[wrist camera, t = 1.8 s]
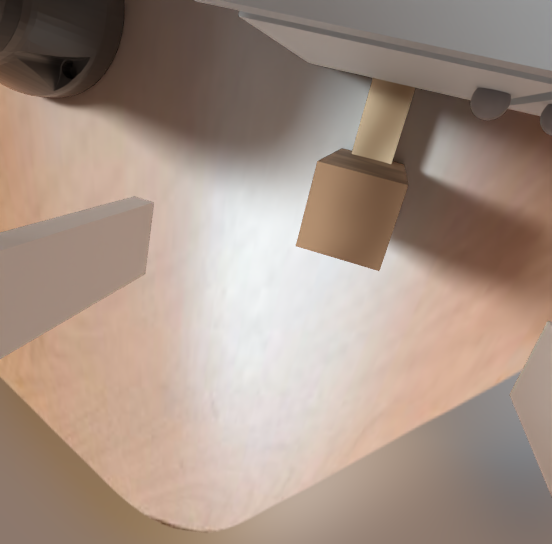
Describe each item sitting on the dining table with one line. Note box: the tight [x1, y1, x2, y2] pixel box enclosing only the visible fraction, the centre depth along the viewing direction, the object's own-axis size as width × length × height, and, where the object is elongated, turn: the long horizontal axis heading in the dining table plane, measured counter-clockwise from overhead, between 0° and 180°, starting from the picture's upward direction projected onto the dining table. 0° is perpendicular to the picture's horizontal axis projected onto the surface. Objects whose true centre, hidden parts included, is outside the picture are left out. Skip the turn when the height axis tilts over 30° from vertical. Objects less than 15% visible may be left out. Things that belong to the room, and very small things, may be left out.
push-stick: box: [296, 78, 415, 271], centre depth 27 cm, size 5×20×12 cm, turn 167°
